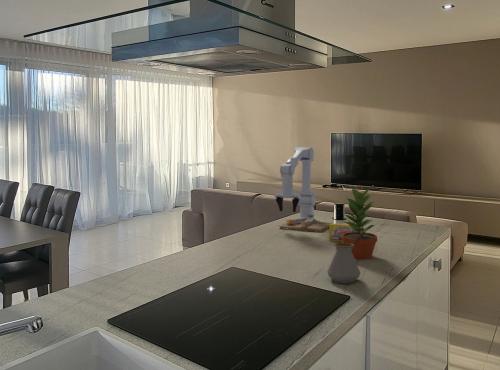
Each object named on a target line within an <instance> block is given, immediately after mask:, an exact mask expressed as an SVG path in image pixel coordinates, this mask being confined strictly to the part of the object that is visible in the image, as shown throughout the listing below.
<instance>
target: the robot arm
mask: <svg viewBox="0 0 500 370" xmlns="http://www.w3.org/2000/svg"><path fill="white" fill-rule="evenodd" d="M293 151H294V154H293V156H290V157H289V158H288V159H287V160H286V162H285V163H283V164H282V165H280V168H279V173H280V178H281V192H282V193H275V194H274V199H275V201H276V203H277V207H278V209H279V212H283V207H284V205H283V204H284V203H283V202H284V199H291V202H292V212H293V213H296V212H297V207H298V206H299V209H300V213H299V214H300V216H299V218H303V217H306V218H307V220H308V215H310V214H311V215H314V217H313V220H314V221H316V218H315V208H314V206H315V204H316V201H317V200H316V193H315V191H313V190H312V189H311V184H312V183H311V181H312V180H311V176H312V173H311V172H312V169H311V168H312V162H313V161H314V155H315V153H314V148H313V147H312V146H308V147H307V146H296V147H295V148H294V150H293ZM299 162H301V163H302V164H301V165H302V167H301V168H302V170H301V171H302V172H301V174H302V176H301V178H302V179H301V190H300V191H299V192H298V193H297V194H294V183H293V182H294V181H293V180H294V179H293V178H294V177H293V176H294V174H295V171H296V167H298V165H299Z"/></svg>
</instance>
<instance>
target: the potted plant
mask: <svg viewBox="0 0 500 370" xmlns="http://www.w3.org/2000/svg"><path fill="white" fill-rule="evenodd" d="M371 187H372V186H370V188H367V189H366V190H365V191H364V192H363V193H362V192H360V191H358V190H357V189H354V188H353V187H352V189H351V192H352V194H353V196H354V199H355V200H353V199H352V198H347V197H346V200H347V201H348V208H349V209H350V210H351V212H349V211H347V210H346V211H345V210H344V212H345V213H347V214H344V213H342V215H343V216H344V217H346V218H347V219H348V221H345V220H344V221H340V222H342V223H343V224H348V225H350V226H351V227H352V229H353V230H354V231H356V232H348V233H344V234H342V240H343V241H342V243H350V244H353V242H354V241H355V240H356V238H357V237H358V236H359V235H360V234H361V233H362V232H363V231H364V232H365V233H364V234H363V235H364V236H362V237H361V238H360V240H359V241H358V242H357V243H356V244H355V245H354V246H353V248H352V249H351V251H352V254H353V256H354V259H355V260H361V261H362V260H369V259H371V258H373V253H374V250H375V246H376V243H377V242H378V235H376V234H375V233H371V232H367V231H368V230H370V229H372V228H373V227H375V226H376V225H377V223H375V224H370V223H371V222H373V220H374V218H372V219H365V218H367V217H368V216H369V215H370V213H368V214H367V211H368V210H369V209H371V208H372V207H373V206H374V205H375V203H374V201H371V202H369V203H368V204H366V205H365V203H366V202H367V201H368V200H369V199H370V198H372V196H373V195H374V193H372V194H368V191H369V190H370V189H371ZM364 219H365V220H364ZM368 224H370V225H368ZM366 225H368V226H367V227H365V226H366ZM362 227H365V228H362ZM366 233H367V234H366ZM366 235H367V236H366Z"/></svg>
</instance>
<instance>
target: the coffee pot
mask: <svg viewBox="0 0 500 370" xmlns="http://www.w3.org/2000/svg"><path fill="white" fill-rule="evenodd" d="M364 233H365V232H364V231H363V232H362V233H361V234H360V235H359V236H358V237H357V238H356V240H355V241H354V242H353V244H350V243H344V242H337V243H335V244H334V247H335V248H336V249H335V253H334V256H333V258H332V260H331V262H330V264H329V267H328V268H327V274H328V277H330V279H332V280H333V282H336V283H338V284H351V283H355V281H356V280H357V279H358V278H360V275H361V270H360V268H359V266H358V264H357V261H356V259H354V256H353V254H352V251H351V249H352V248H353V246H354V245H355V244H356V243H357V242H358V241H359V240H360V238H361V237H362V236H364V235H363V234H364ZM367 233H368V232H366V234H367ZM366 236H367V235H366Z"/></svg>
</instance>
